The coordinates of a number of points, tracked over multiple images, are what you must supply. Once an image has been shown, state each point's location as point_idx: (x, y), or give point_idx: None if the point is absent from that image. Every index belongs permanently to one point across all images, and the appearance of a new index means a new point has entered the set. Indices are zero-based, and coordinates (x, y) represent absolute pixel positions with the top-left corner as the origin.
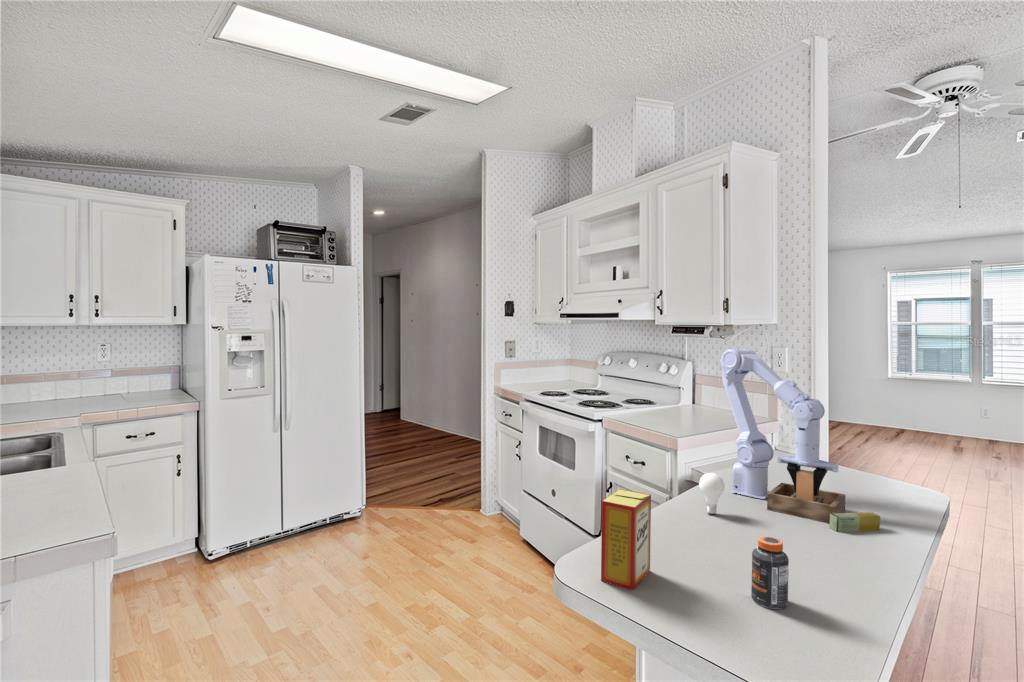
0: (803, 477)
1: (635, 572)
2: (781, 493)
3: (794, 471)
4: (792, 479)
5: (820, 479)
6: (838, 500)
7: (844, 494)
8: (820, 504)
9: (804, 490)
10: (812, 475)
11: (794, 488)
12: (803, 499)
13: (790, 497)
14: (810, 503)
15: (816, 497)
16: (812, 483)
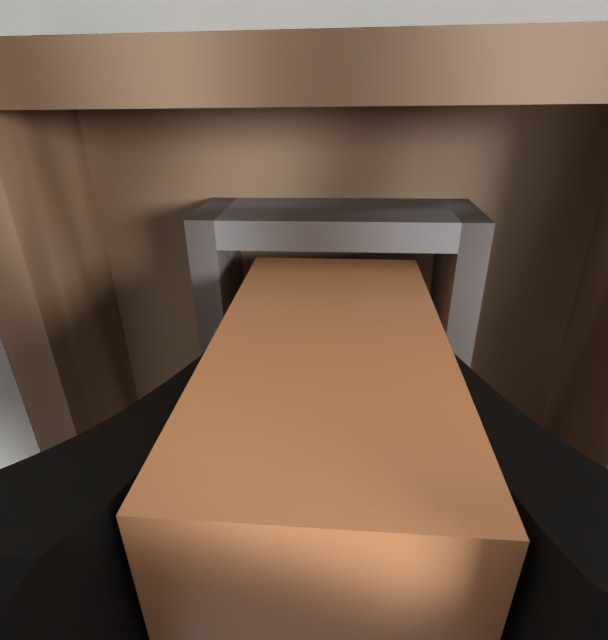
0: (345, 446)
1: None
2: (574, 415)
3: (595, 547)
4: (544, 430)
5: (23, 461)
6: (21, 354)
7: None
8: (71, 38)
9: (330, 317)
10: (137, 503)
11: (467, 367)
12: (301, 97)
13: (478, 59)
14: (199, 34)
15: None
16: (194, 383)
